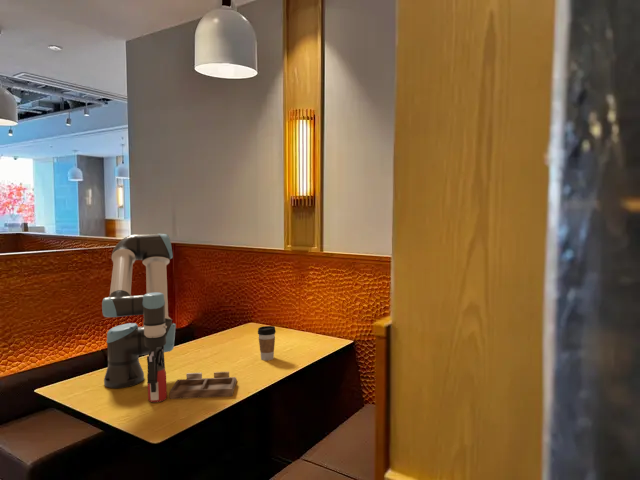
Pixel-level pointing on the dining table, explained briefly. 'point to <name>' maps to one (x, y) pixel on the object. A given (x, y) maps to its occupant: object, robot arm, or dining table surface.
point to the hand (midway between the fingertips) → (157, 395)
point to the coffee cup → (267, 342)
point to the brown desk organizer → (203, 386)
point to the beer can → (159, 385)
